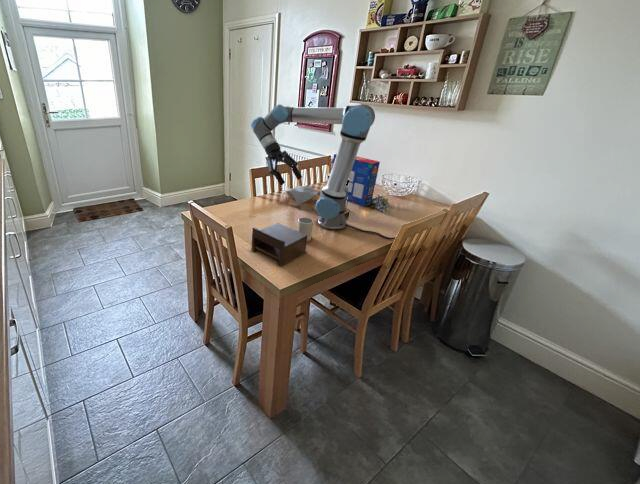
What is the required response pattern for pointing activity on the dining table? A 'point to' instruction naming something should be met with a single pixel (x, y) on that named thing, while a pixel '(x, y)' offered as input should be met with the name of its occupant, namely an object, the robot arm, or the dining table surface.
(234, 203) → the dining table surface
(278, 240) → the shelf
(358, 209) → the dining table surface
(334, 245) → the dining table surface
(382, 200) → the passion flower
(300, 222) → the cup
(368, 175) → the pasta box
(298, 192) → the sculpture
